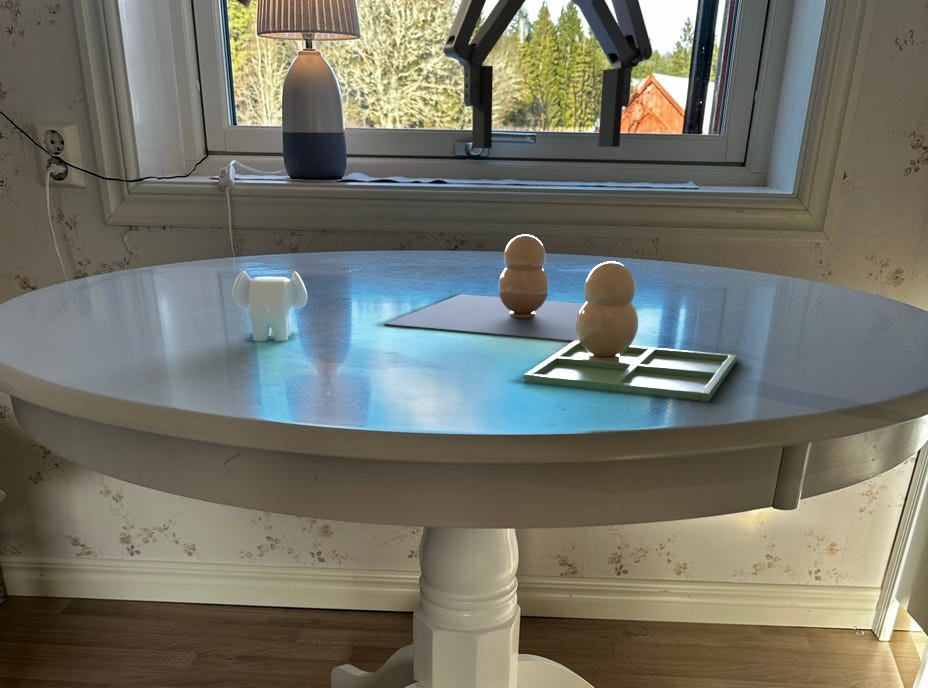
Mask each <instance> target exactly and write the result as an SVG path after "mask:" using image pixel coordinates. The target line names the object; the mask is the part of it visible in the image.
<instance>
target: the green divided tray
mask: <svg viewBox="0 0 928 688" xmlns="http://www.w3.org/2000/svg"><path fill="white" fill-rule="evenodd" d="M589 354H590V353H589V352H588V351H587V350H586V349H585V348H584V347H583V346H582V345H581V344H580V342H579V341H574V342H570V343H569V344H568V345H566V346H565V347H563V348H561V349H560V350H558V351H557V352H555V353H554V354H553V355H551V356H549V357H547V359H545V360H544V361H542V362H541V363H539V364H537V365H536V366H535V367H533V368H532V369H530V370H528V371H527V372H526V373H524V374H523V380H522V381H523V382H524V383H531V384H532V383H533V384H540V385H551V386H561V387H568V388H578V389H589V390H596V391H597V390H598V391H608V392H618V393H624V394H625V393H627V394H635V395H636V394H637V395H645V396H654V397H664V398H673V399H683V400H693V401H702V402H709V401H710V400H711V398H712V397H713V395H714V394H715V393H716V391H717V389H718V388H719V387H720V385H721V384H722V383H723V381H724V379H725V378H727V377H726V376H728V374H729V372H730V371H731V370H732V368H733V367H734V365H735V364H736V362H737V357H738V355H737V354H729V353H718V352H706V351H695V350H686V349H685V350H684V349H673V348H663V347H650V346H639V345H630V346H629V347H628V348H627V349H626V350H625V351H623V352H622V353H620V354H619V355H620V358H619V360H617V361H602V360H591V359H589Z"/></svg>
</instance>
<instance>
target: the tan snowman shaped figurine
mask: <svg viewBox="0 0 928 688" xmlns="http://www.w3.org/2000/svg"><path fill="white" fill-rule="evenodd" d="M546 259H547V254H546V248H545V247H544V244H543V243H542V242H541V240H539V238H537V237H535V236H534V235H531V234H521V235H517V236H515V237H513V238H512V239H511V240H510V241H509V242H508V243H507V245H506V247H505V249H504V252H503V264H504V266H505V267H504V270H503V271H502V272H501V274H500V275H499V279H498V283H497V292H498V297H500V300H501V302H502V303H503V305H504V306H505V307H506V308H507V309H508V310H510V311H511V312H510V316H512V317H517V318H530V317H534V316H535V311H536V310H538V309H539V308H540V307H541V306H542V305H543V304H544V302H545V301H547V299H548V296H549V292H550V281H549V277H548V274H547V272H546V270H545V269H544V267H545V265H546V261H547V260H546Z"/></svg>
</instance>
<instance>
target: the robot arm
mask: <svg viewBox="0 0 928 688" xmlns="http://www.w3.org/2000/svg"><path fill="white" fill-rule="evenodd" d="M486 1H487V0H461V1H460V3H459V7H458V9H457V11H456V13H455V17H454V19H453V21H452V24H451V27H450V28H449V31H448V34H447V36H446V39H445V42H444V43H443V54H444V55H445V56H446V57H447V58H452V59H453V60H456V61H458V63H459V65H460V66H462V67H463V103H464V105H465V107H468V108H469V107H471V109H472V114H471V115H472V116H471V117H472V120H471V121H472V123H471V124H472V126H471V131H472V132H471V148H472V149H492V143H493V142H492V139H493V137H492V136H493V87H494V86H493V81H494V80H493V78H494V66H493V65H483V64H484V62H485V61H486V59H487V58H488V56H489V55H490V53H491V52H492V50H493V49H494V47H495V46H496V44H497V43H498V42H499V40H500V38H502V36H503V34H504V33H505V31H506V29H507V28H508V27H509V25H510V24H511V23H512V21H513V20H514V18H515V17H516V16H517V14H518V13H519V11H520V9H521V8H522V6H523V5H524V3H525V2H526V1H527V0H498V1H497V3H496V4H495V6H493V9H492V10H491V11H490V13H489V14H488V15H487V17H486V19H485V20H484V22H483V23H482V25H481V26H480V28H479V29H478V31H477V32H476V33H475V35H474V36H473V34H474V32H475V29H476V27H477V24H478V21H479V20H480V17H481V14H482V11H483V9H484V7H485V4H486ZM571 1H572V3H573V4H575V5H576V6H577V7H578V9H579V10H580V11H581V14H582V16H583V17H584V19H585V21H586V22H587V24H588V26H589V28H590V30H591V31H592V33H593V35H594V37H595V39H596V40H597V42H598V44H599V46H600V47H601V50H602V52H603V53H604V55H605V57H606V59H607V61H608V62H609V64H610V66H611V67H612V68H607V69H602V81H601V99H600V114H599V126H598V127H599V128H598V130H599V131H598V145H597V147H605V148H608V147H609V148H612V147H613V148H619V147H620V144H621V131H622V130H621V128H622V116H623V108H627V107H628V105H629V103H630V98H631V86H632V85H631V84H632V72H633V68H636V67H638V66H639V64H640V63H641V62H644V61H647V60H650V59H651V57H652V55H653V48H652V43H651V41H650V36H649V33H648V30H647V27H646V22H645V19H644V15H643V12H642V8H641V5H640V0H611V5H612V7H613V11H614V15H615V16H614V15H613V12H612V11H611V9H610V7H609V5H608V3H607V2H606V0H571ZM472 37H473V38H472Z"/></svg>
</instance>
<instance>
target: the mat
mask: <svg viewBox="0 0 928 688" xmlns="http://www.w3.org/2000/svg"><path fill="white" fill-rule="evenodd" d="M584 303H585V302H571V301H557V300H546V301H545V302H544V304H543V305H542V306H541V307H540V308H539V309H538V310H536V311H535V316H534V317H530V318H517V317H512V316H510V312H511V311H510V310H508V309H507V308H506V307H505V306H504V305H503V303H502V302H501V300H500V297H499V296H491V295H478V294H464V293H460V294H457V295H455V296H453V297H450V298H447V299H445V300H441V301H440V302H437V303H435V304H432V305H430V306H426V307H424V308H422V309H419V310H416V311H414V312H412V313H409V314H406V315H403V316H402V317H398V318H396V319H394V320H390V321H388V322H385V323H383V324H384V327H395V328H404V329H405V328H407V329H419V330H431V331H442V332H455V333H464V334H474V335H475V334H477V335H487V336H497V337H498V336H499V337H511V338H522V339H532V340H544V341H555V342H565V343H566V342H568V343H572V342H574V341H579V340H578V337H577V334H576V319H577V315H578V313H579V310H580V309H581V307H582V306H583V304H584Z"/></svg>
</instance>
